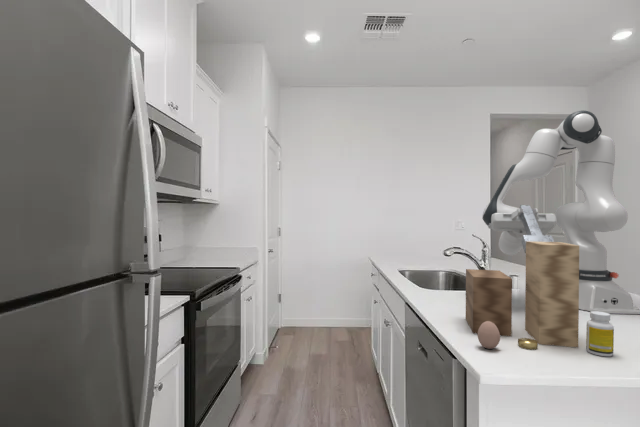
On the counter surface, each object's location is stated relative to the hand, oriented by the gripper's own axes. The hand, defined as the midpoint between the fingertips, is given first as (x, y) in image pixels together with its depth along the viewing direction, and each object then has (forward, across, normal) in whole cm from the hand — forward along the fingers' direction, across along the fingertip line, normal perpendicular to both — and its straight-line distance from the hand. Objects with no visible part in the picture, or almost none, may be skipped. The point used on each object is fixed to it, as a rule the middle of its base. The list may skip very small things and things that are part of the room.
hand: (528, 210), depth 126 cm
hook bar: (-1, 0, +8) cm, 8 cm away
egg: (+13, -19, +49) cm, 54 cm away
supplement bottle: (+10, +8, +47) cm, 48 cm away
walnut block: (-4, -15, +38) cm, 42 cm away
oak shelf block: (+2, 0, +42) cm, 42 cm away
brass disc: (+10, -8, +47) cm, 49 cm away
